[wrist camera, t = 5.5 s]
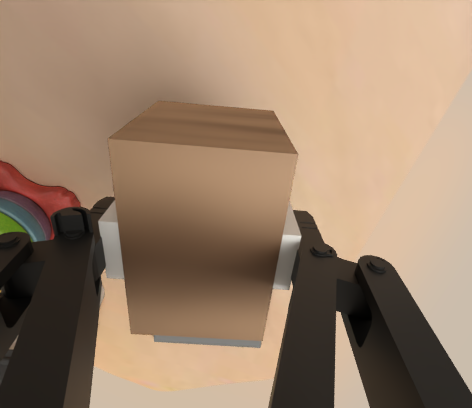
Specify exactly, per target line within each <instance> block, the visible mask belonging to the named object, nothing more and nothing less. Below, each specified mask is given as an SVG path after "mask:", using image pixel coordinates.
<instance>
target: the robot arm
mask: <svg viewBox="0 0 472 408" xmlns="http://www.w3.org/2000/svg"><path fill="white" fill-rule="evenodd" d="M50 219H51V223H52V228H53V232H54V239H52V240H45V241H37V242H31V239H30V236H29V234H27V233H25V232H19V231H18V232H7V233H3V234H1V235H0V290H1V292H0V362H1V360H2V359H3V357H4V356H5V354H6V353H7V351H8V350H9V348H10V347H11V345H12V344H13V342H14V341H15V339H16V338H17V336H18V338H17V341H16V344H15V346H14V349H13V352H12V355H11V357H10V360H9V363H8V366H7V368H6V371H5V374H4V377H3V379H2V382H1V385H0V408H89V404H90V394H91V386H92V376H93V375H92V374H93V366H94V357H95V347H96V337H97V328H98V318H99V308H100V299H101V289H102V281H101V274H102V272H103V270H104V269H106V276H107V278H114V279H124V271H123V263H122V255H121V246H120V238H119V229H118V221H117V213H116V204H115V197H105V198H103V199H101V200H99V201H98V202H97V203H96V204H95V205H94V206H93V208H91V210H90V211H89V210H88V209H87V208H83V207H67V208H63V209H60V210H58V211H56V212H54V213H53V214H52V215H51V216H50ZM291 280H292V284H293V291H292V295H291V299H290V303H289V308H288V314H287V319H286V324H285V329H284V333H283V338H282V343H281V348H280V353H279V358H278V363H277V367H276V372H275V377H274V382H273V387H272V392H271V397H270V401H269V407H268V408H334V382H335V381H334V380H335V379H334V378H335V333H336V332H335V331H336V311H339V312H341V315H342V318H343V322H344V325H345V328H346V331H347V335H348V338H349V341H350V344H351V347H352V351H353V354H354V357H355V360H356V364H357V367H358V370H359V373H360V377H361V380H362V383H363V386H364V389H365V393H366V396H367V399H368V402H369V406H370V408H472V394H471V392H470V390H469V389H468V387H467V385H466V384H465V382H464V380H463V379H462V377H461V375H460V374H459V372H458V371H457V369H456V367H455V366H454V364H453V362H452V361H451V359H450V358H449V356H448V354H447V353H446V351H445V350H444V348H443V346H442V345H441V343H440V341H439V340H438V338H437V336H436V335H435V333H434V332H433V330H432V328H431V327H430V325H429V323H428V322H427V320H426V319H425V317H424V315H423V314H422V312H421V310H420V309H419V307H418V306H417V304H416V302H415V301H414V299H413V297H412V296H411V294H410V293H409V291H408V289H407V288H406V286H405V284H404V283H403V281H402V279H401V278H400V276H399V275H398V273H397V271H396V270H395V268H394V267H393V266H392V265H391V264H390V263H389V262H387V261H386V260H384V259H382V258H380V257H376V256H372V255H366V256H362V257H360V259H359V260H358V263H354V262H351V261H347V260H344V259H341V258H339V257H337V254H336V251H335V250H334V249H333V248H332V247H330V246H329V245H327V244H325V243H324V241H323V239H322V237H321V234H320V232H319V230H318V228H317V225H316V224H315V221H314V219H313V217H312V216H311V215H310V214H309V213H308V212H307V211H298V210H292V207H291V204H290V201H289V205H288V210H287V216H286V221H285V226H284V231H283V237H282V242H281V247H280V252H279V258H278V263H277V268H276V273H275V279H274V284H273V289H283V290H289V288H290V284H291Z"/></svg>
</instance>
